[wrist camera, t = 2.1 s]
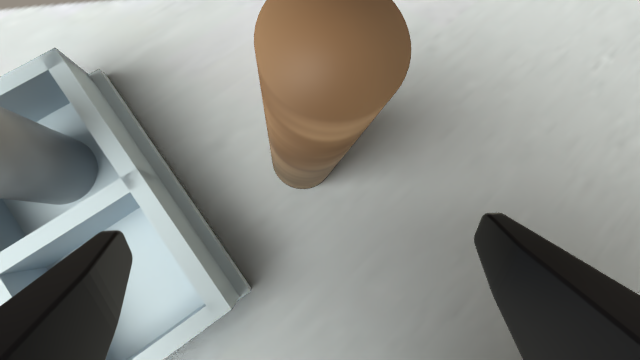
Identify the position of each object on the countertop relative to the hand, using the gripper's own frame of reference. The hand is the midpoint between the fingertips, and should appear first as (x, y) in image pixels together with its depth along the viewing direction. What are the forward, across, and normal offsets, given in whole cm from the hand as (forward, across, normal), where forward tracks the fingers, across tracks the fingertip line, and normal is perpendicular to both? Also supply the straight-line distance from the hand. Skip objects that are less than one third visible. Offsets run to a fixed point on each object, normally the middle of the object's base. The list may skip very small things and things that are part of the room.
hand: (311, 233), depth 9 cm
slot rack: (+9, +11, +7) cm, 15 cm away
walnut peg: (+11, 0, +5) cm, 12 cm away
